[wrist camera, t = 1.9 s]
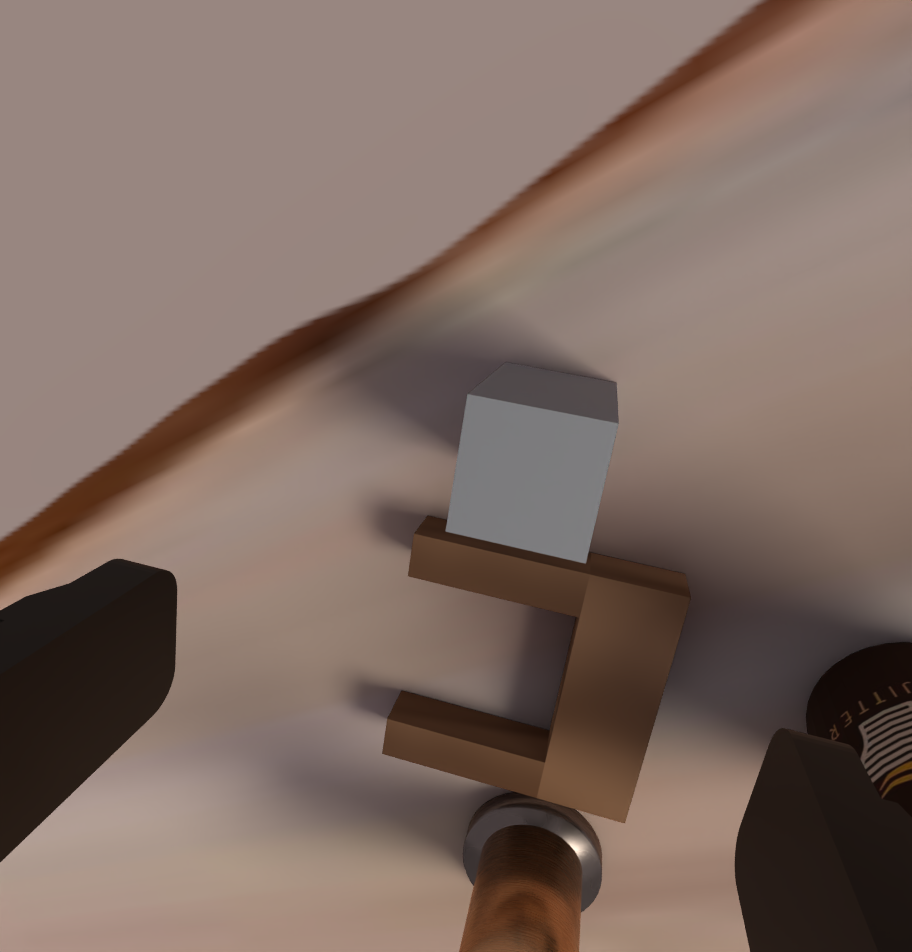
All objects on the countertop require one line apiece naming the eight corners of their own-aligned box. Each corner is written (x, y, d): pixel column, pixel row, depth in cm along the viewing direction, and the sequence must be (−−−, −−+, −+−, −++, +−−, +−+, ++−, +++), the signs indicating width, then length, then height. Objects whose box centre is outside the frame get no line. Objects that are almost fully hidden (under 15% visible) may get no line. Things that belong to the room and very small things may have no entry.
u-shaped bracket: (427, 515, 27) (413, 533, 25) (685, 573, 25) (690, 597, 23) (396, 723, 30) (382, 753, 28) (623, 787, 28) (624, 823, 27)
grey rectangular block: (505, 362, 25) (467, 393, 18) (616, 382, 24) (618, 423, 17) (487, 466, 26) (445, 531, 19) (592, 488, 25) (585, 563, 19)
